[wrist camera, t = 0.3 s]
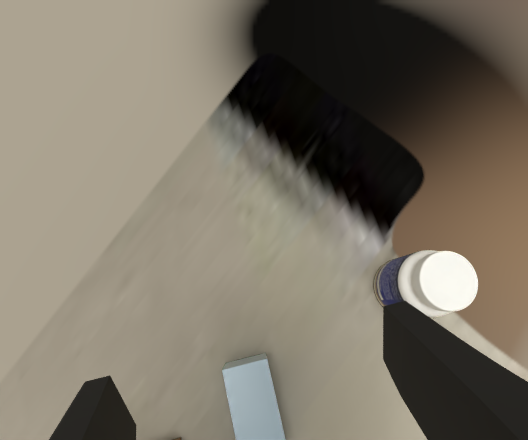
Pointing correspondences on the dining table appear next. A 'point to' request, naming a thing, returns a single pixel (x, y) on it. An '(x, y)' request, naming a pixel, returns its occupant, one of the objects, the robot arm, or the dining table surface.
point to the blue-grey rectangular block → (252, 399)
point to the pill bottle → (428, 282)
